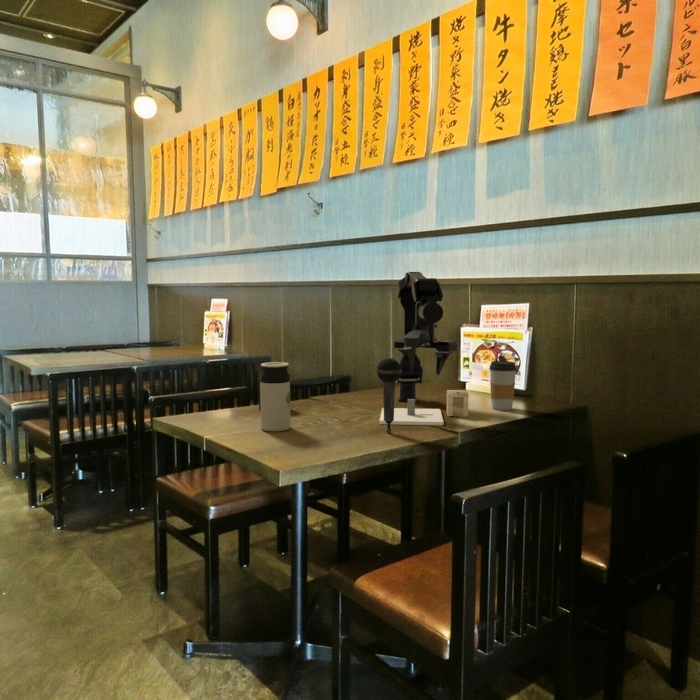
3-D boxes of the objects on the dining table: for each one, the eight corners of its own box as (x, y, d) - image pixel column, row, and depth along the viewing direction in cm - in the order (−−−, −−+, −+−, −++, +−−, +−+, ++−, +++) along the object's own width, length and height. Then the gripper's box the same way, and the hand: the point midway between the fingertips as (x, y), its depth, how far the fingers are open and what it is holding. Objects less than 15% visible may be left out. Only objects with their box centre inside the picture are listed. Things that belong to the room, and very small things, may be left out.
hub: (382, 411, 180) (382, 393, 179) (439, 412, 178) (440, 394, 177) (379, 424, 162) (379, 405, 161) (443, 425, 160) (443, 406, 160)
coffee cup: (516, 412, 178) (517, 364, 176) (488, 410, 180) (490, 363, 178) (514, 406, 186) (515, 361, 185) (488, 405, 188) (489, 360, 186)
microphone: (383, 437, 147) (383, 360, 145) (371, 431, 153) (371, 357, 151) (406, 434, 150) (407, 359, 148) (394, 429, 156) (394, 356, 154)
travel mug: (255, 430, 154) (254, 364, 153) (270, 424, 162) (269, 361, 160) (282, 433, 152) (281, 366, 150) (295, 426, 159) (294, 362, 157)
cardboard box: (446, 412, 178) (446, 389, 177) (466, 412, 177) (466, 389, 176) (447, 416, 172) (448, 392, 171) (468, 416, 171) (468, 393, 170)
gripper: (383, 321, 168) (383, 373, 169) (439, 323, 156) (438, 380, 158) (404, 319, 176) (403, 369, 178) (458, 321, 165) (457, 375, 167)
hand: (424, 373), depth 170 cm, fingers open, 9 cm apart
